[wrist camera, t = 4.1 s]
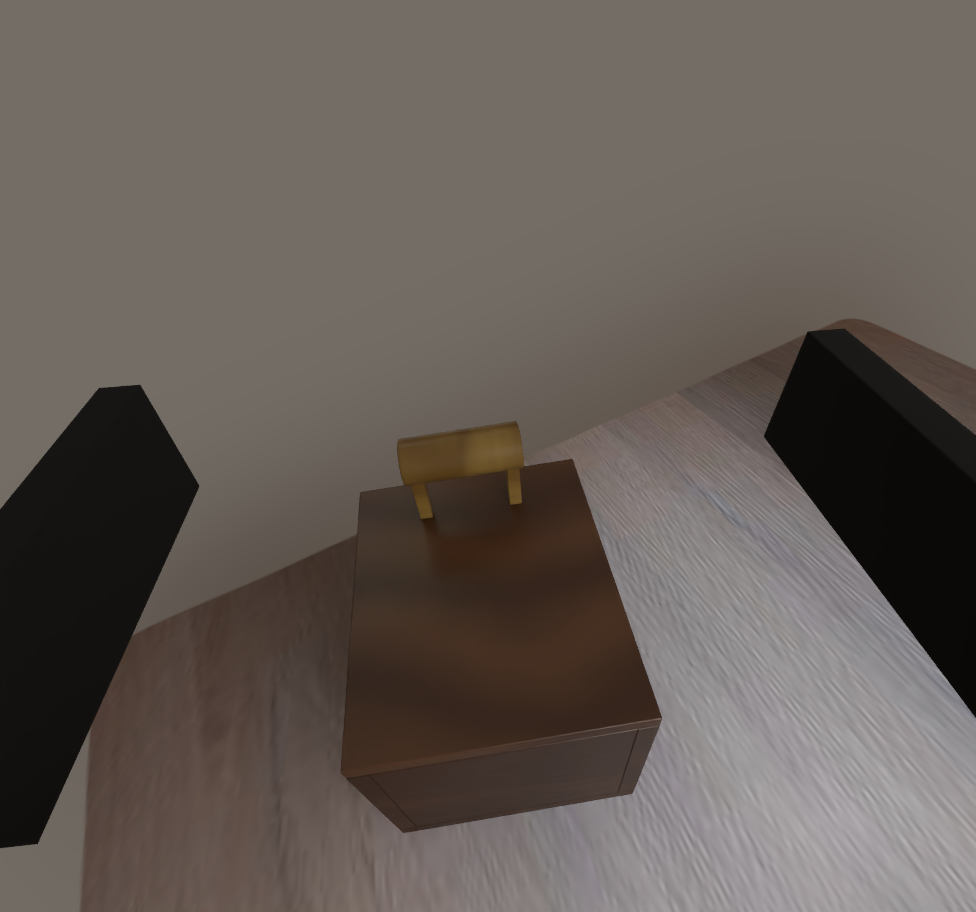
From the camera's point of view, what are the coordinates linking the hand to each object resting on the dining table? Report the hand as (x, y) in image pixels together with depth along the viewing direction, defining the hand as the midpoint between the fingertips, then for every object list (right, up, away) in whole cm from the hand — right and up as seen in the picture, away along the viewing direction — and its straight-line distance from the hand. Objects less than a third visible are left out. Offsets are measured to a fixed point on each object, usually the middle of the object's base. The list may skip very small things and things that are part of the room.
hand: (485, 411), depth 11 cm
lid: (0, -8, +15) cm, 17 cm away
